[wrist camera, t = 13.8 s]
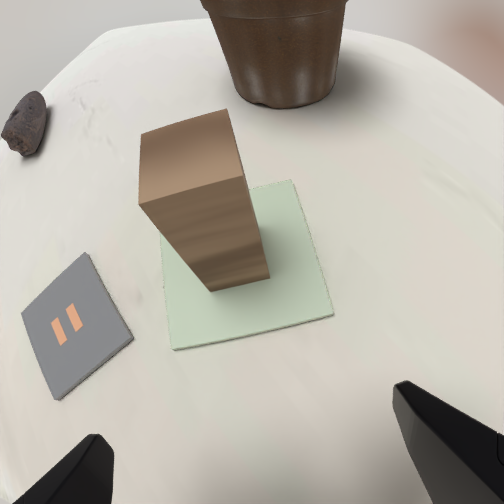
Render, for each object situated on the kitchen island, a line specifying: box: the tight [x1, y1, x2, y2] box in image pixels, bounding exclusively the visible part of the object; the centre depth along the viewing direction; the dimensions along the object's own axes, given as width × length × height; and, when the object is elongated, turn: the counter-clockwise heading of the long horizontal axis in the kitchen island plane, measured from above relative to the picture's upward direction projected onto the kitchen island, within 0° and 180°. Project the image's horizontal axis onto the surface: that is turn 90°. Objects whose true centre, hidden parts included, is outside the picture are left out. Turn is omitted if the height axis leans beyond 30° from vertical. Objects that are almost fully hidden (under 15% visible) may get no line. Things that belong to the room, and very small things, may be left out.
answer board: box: [160, 180, 334, 350], centre depth 25 cm, size 12×12×1 cm
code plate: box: [21, 252, 134, 400], centre depth 25 cm, size 10×10×1 cm
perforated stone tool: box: [1, 91, 47, 156], centre depth 37 cm, size 15×5×7 cm, turn 14°
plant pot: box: [200, 0, 348, 108], centre depth 27 cm, size 16×16×16 cm
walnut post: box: [139, 109, 270, 292], centre depth 19 cm, size 5×5×12 cm
